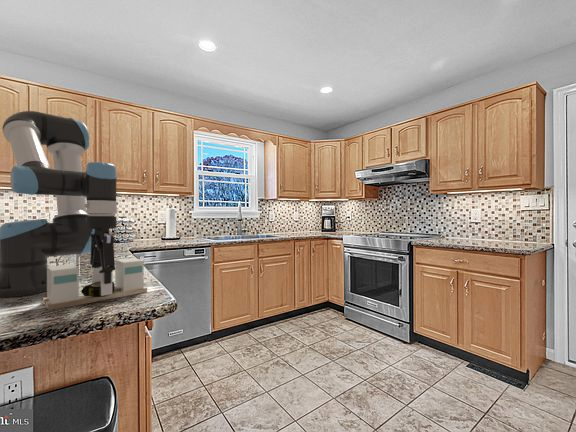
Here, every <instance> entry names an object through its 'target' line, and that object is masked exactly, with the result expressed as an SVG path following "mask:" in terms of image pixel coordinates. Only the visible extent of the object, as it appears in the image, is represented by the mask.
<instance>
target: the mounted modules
mask: <svg viewBox="0 0 576 432" xmlns="http://www.w3.org/2000/svg"><path fill="white" fill-rule="evenodd" d="M114 261H115V270H114V273H115V275H114V285H115V287H116V288H117V287H118V288H120V289H121V291H123V292H124V291H130V290H135V289H141V288H144V287H145V286H144V283H145V280H144V279H145V278H144V275H145V274H144V261H145V260H143V259H140V258H136V257H133V258H131V257H130V258H122V259H121V258H119V259H114ZM79 271H80V269H79V267H78V266H77V265H75V264H73V263H72V264H71V263H70V264H64V265H63V264H61V265H52V266H48V267H47V291H46V297H47V299H49V300H50V303H51V304H56V303H61V302H67V301H73V300H78V299H79V292H80V288H79V287H80V285H79V283H80V279H79V276H80V273H79Z"/></svg>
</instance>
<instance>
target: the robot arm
mask: <svg viewBox="0 0 576 432" xmlns="http://www.w3.org/2000/svg"><path fill="white" fill-rule="evenodd" d="M86 125H87V124H85V123H84V122H83V121H81V120H78V119H74V118H72V117H65V116H58V115H55V114H49V113H46V112H45V113H44V112H40V111H36V110H25V111H19V112H16V113H13V114H11V115H10V116H9V117H7V118H6V119H5V120H4V122H3V124H2V127H1V128H2V133H3V137H4V138H5V140H6V141H7V142H9V143H10V147H11V150H12V154H13V158H14V161H15V166H12V168H11V170H10V181H9V182H10V188H11V191H12V192H13V193H16V194H24V195H25V194H26V195H30V196H33V195H40V196H41V195H43V196H45V195H46V196H56V197H55V199H56V209H57V215H55V216H54V217H53V219H52V222H49V221H48V220H47V218H40V219H39V218H37V219H28V220H20V221H19V220H18V221H11V222H5V223H3V224H2V225H0V298H15V297H24V296H29V295H34V294H40V293H44V292H47V267H49V266H48V258H50V257H62V256H73V255H74V256H75V255H79V256H80V255H84V254H90V259H89V260H90V262H89V264H90V266H91V268H92V271H91V273H92V274H91V275H92V277H91V278H92V279H91V281H92V283H95V282H100V281H101V296H104V295H109V294H112V282H113V272H114V271H115V248H114V242H115V241H114V239H115V236H114V235H111V233H110V229H111V230H112V229H116V228H117V219H118V218H117V216H115V215H117V214H118V208H117V206H118V205H117V204H118V203H117V178H118V175H117V168H116V167H117V166H115V164H112V163H108V162H101V161H90V162H87V164H86V167H85V171H83V166H82V165H83V164H82V156H83V155H84V154H85V151H87V150H88V149H89V146H90V133H89V129H88V127H87V126H86ZM43 146H46V150H47V152H48V153H49V154H50V155H52V160H53V161H52V162H53V168H51V165H50V162H49V161H48V157H47V155H46V153H45V150H44V148H43ZM92 283H91V284H92Z"/></svg>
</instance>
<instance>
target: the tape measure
mask: <svg viewBox="0 0 576 432" xmlns="http://www.w3.org/2000/svg"><path fill="white" fill-rule="evenodd" d="M114 289H115V281H112V293H113V292H114ZM80 292H81V293H83V295H84V296H91V297H105V296H107V295H104V296H101V281H100V282H95V283H91V284H87V285H84V286H83V287H82V289H81V291H80ZM109 295H110V294H109Z"/></svg>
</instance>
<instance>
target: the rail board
mask: <svg viewBox="0 0 576 432" xmlns="http://www.w3.org/2000/svg"><path fill="white" fill-rule="evenodd" d="M81 292H82V291H79V299H78V300H73V301H67V302H61V303H56V304H51V303H50V300H49V299H47V296H46V297H43V298H42V303H43V304H44V306H45V308H46V309H47V310H48V311H51V310H57V309H58V310H59V309H63V308H68V307H72V306H78V305H83V304H89V303H94V302H101V301H105V300H109V299H117V298H122V297H126V296H132V295H138V294H142V293H147V292H148V288H147V286H144V288H141V289H135V290H130V291H124V292H123V291H121V289H120V288H118V287H117V288H116V287H115V289H114V292H113V293H112V294H110V295H107V296H105V297H91V296H84V295H83V293H81Z"/></svg>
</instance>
